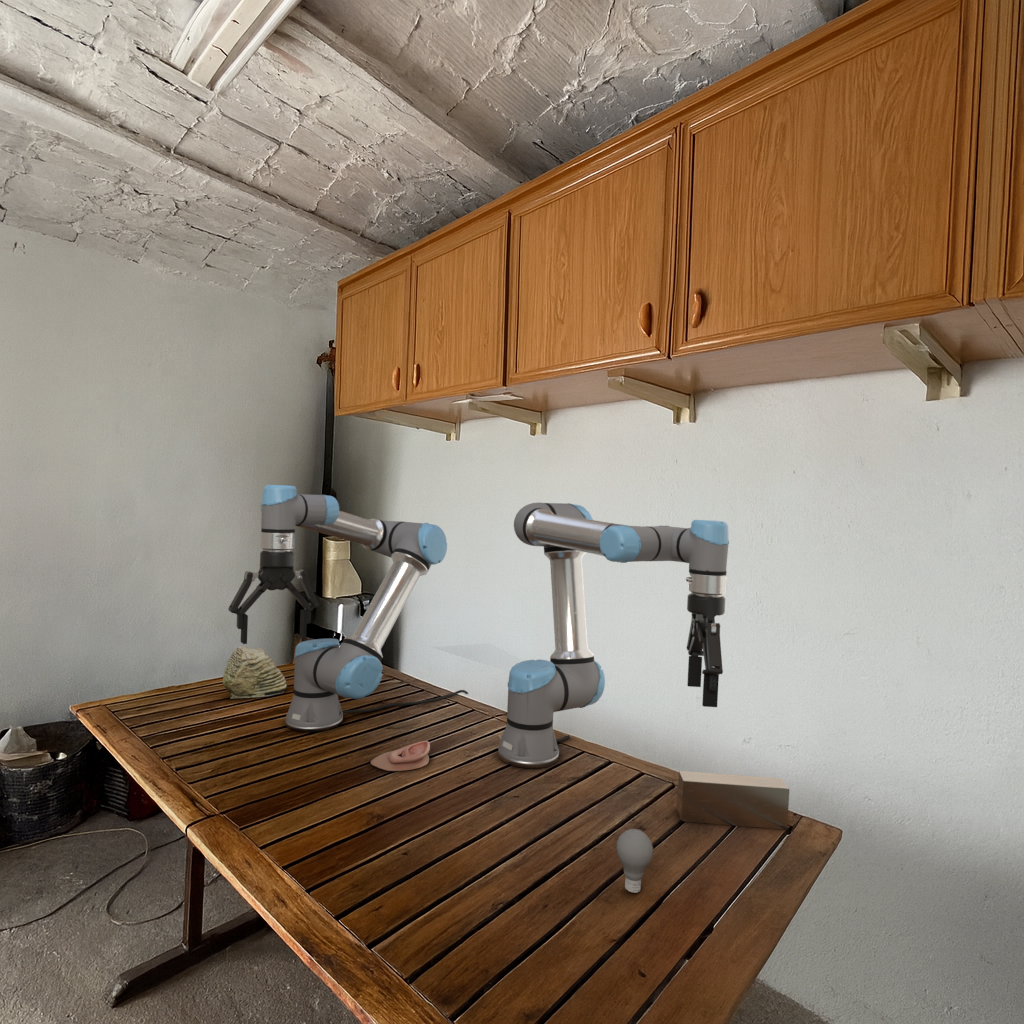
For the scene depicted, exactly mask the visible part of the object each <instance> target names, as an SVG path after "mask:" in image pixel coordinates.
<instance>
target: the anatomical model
mask: <svg viewBox="0 0 1024 1024" xmlns="http://www.w3.org/2000/svg"><path fill="white" fill-rule="evenodd" d="M430 751H431V743H430V742H429V741H428V740H423V741H417V742H415V743H412V744H408V745H405V746H403V747H399V748H398V749H394V750H391V751H387V752H384V753H381V754H380V755H377V756H376V757H374V758H373V759H371V761H370V764H371V765H372V766H373V767H375V768H378V769H380V770H383V771H387V772H400V771H401V772H402V771H411V770H415V769H421V768H423V767H425V766H427V765H428V764H429V761H430V757H429V755H428V754H429V753H430Z"/></svg>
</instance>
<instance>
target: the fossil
mask: <svg viewBox="0 0 1024 1024" xmlns="http://www.w3.org/2000/svg"><path fill="white" fill-rule="evenodd" d="M222 676H223V677H222V685H223V687H224V688H225V690H226V691H228V693H229V698H230V699H250V698H264V697H271V696H275V695H281V694H284V693H285V691H286V689H287V687H288V686H287V680H286V678H285V676H284V674H283V673H282V672H281V669H279V668H278V667H277V665H276V663H275V662H274V660H273V659H272V658H271V657H270V656H269V655H268V654H267V653H266V652H265V650H264V649H263V648H260V647H258V648H251V647H247V646H246V647H245V646H238V647H237V648H236V649H235V650H233V651H232V653H231V656H230V657H229V659H228V660H227V663H226V666H225V668H224V671H223V675H222Z"/></svg>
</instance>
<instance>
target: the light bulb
mask: <svg viewBox="0 0 1024 1024" xmlns="http://www.w3.org/2000/svg"><path fill="white" fill-rule="evenodd" d="M615 849H616V854H617V857H618V859H619V861H620V863H621V865H622V867H623V873H624V874H623V875H624V876H625V878H624V888H625V890H627V891H628V892H630V893H634V894H635V893H639V892H640V891H641V889H642V887H641V886H642V879H643V877H644V875H645V871H646V868H647V867H648V866H649V864H650V863H651V861H652V859H653V855H654V847H653V843H652V841H651V838H649V836H648V835H647V834H646V833H645V832H643V831H642V830H641V829H636V828H629V829H627V830H625V831H623V832H622V833H621V834H620V835H619V837H618V839H617V841H616V847H615Z"/></svg>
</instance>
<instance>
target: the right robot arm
mask: <svg viewBox="0 0 1024 1024" xmlns="http://www.w3.org/2000/svg"><path fill="white" fill-rule="evenodd" d="M513 531H514V534H515V535H516V537H517V538H518V539H519V541H521V542H522V543H523V544H525V545H527V546H532V547H543V554H544V556H545V557H546V558H547V559H548V560H549V565H550V581H551V582H550V584H551V599H552V616H553V631H554V633H553V634H554V648H555V649H554V651H553V653H552V654H551V655H550V657H549V660H547V659H528V660H523V661H520V662H518V663H516V664H514V665H513V666H512V667H511V668H510V670H509V674H508V681H507V688H508V689H507V711H506V725H505V728H504V731H503V734H502V735H501V736H502V737H501V739H500V742H499V745H498V749H497V755H498V758H499V759H500V761H502V762H504V763H505V764H507V765H510V766H511V767H517V768H520V769H521V768H522V769H543V768H547V767H551V766H553V765H555V764H556V763H557V762H558V761H559V758H560V749H559V746H558V743H562V742H564V741H566V740H569V739H570V738H571V736H570V735H569V734H567V735H568V736H567V735H565V736H563V737H561V738H556V735H555V731H554V713H557V712H563V711H568V710H572V709H573V710H574V709H583V708H586V707H588V706H591V705H595V704H596V703H597V702H598V701H599V700H600V699H601V697H602V696H603V694H604V691H605V688H606V687H605V686H606V675H605V673H604V670H603V669H602V666H601V664H600V663H599V662H598V661H596V660H595V654H594V653H593V652H592V651H591V650H590V649H589V646H588V633H587V619H586V618H587V617H586V602H585V601H586V600H585V588H584V572H583V557H584V556H585V555H586V554H587V553H588V554H593V555H597V556H602V557H604V558H605V559H606V560H607V561H608V562H612V563H620V564H625V563H633V562H637V563H638V562H677V563H685V564H688V577H687V576H686V578H685V581H686V583H688V585H687V586H688V588H687V590H688V592H689V594H688V595H687V600H686V601H687V602H686V603H687V604H686V610H687V612H689V613H691V620H690V621H691V622H690V627H689V631H688V638H687V644H686V651H687V653H688V665H687V685H686V686H687V687H689V688H690V687H693V688H701V687H702V707H705V708H718V699H719V698H718V697H719V677H720V675H723V674H724V673H723V672H724V669H723V659H722V658H723V657H722V645H721V644H722V643H721V624H720V622H716V617H717V616H719V617H720V616H723V615H724V614H725V613H726V597H725V596H724V595H726V593H727V581H728V580H727V578H728V574H727V565H728V563H727V562H728V554H729V553H728V552H729V544H730V540H729V525H728V523H727V522H726V521H724V520H716V519H715V520H713V519H711V520H710V519H693V520H692V521H691V523H690V527H688V528H687V527H679V526H671V525H653V526H652V525H651V526H648V525H645V526H644V525H643V526H641V525H627V524H623V523H621V524H620V523H613V522H608V521H602V520H601V521H600V520H596V519H595V520H594V518H593V517H592V515H591V513H590V511H588V509H587V508H586V507H584V506H582V505H580V504H574V503H570V502H569V503H568V502H567V503H562V502H561V503H558V502H557V503H556V502H532V503H528V504H525V505H524V506H522V507H521V508H520V509H519V510H518V511H517V513H516V514H515V517H514V520H513ZM703 661H704V669H703V668H702V667H703ZM702 675H703V683H702ZM702 684H703V685H702Z"/></svg>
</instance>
